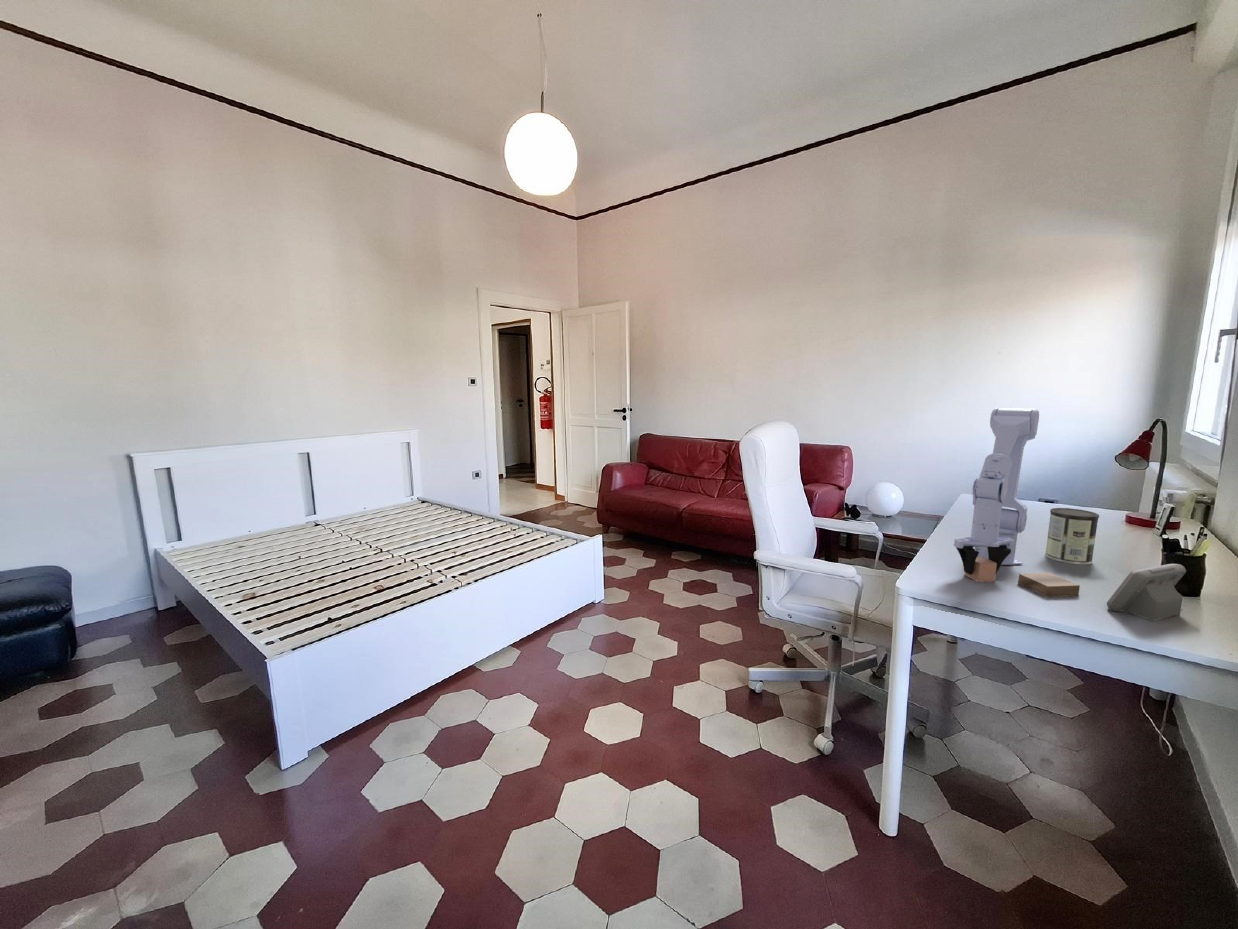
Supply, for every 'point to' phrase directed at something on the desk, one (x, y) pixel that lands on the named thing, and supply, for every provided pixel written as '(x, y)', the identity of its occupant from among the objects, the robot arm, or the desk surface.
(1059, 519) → the coffee can
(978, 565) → the terracotta block
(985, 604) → the desk surface
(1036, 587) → the walnut slab
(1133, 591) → the digital clock
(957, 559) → the desk surface
